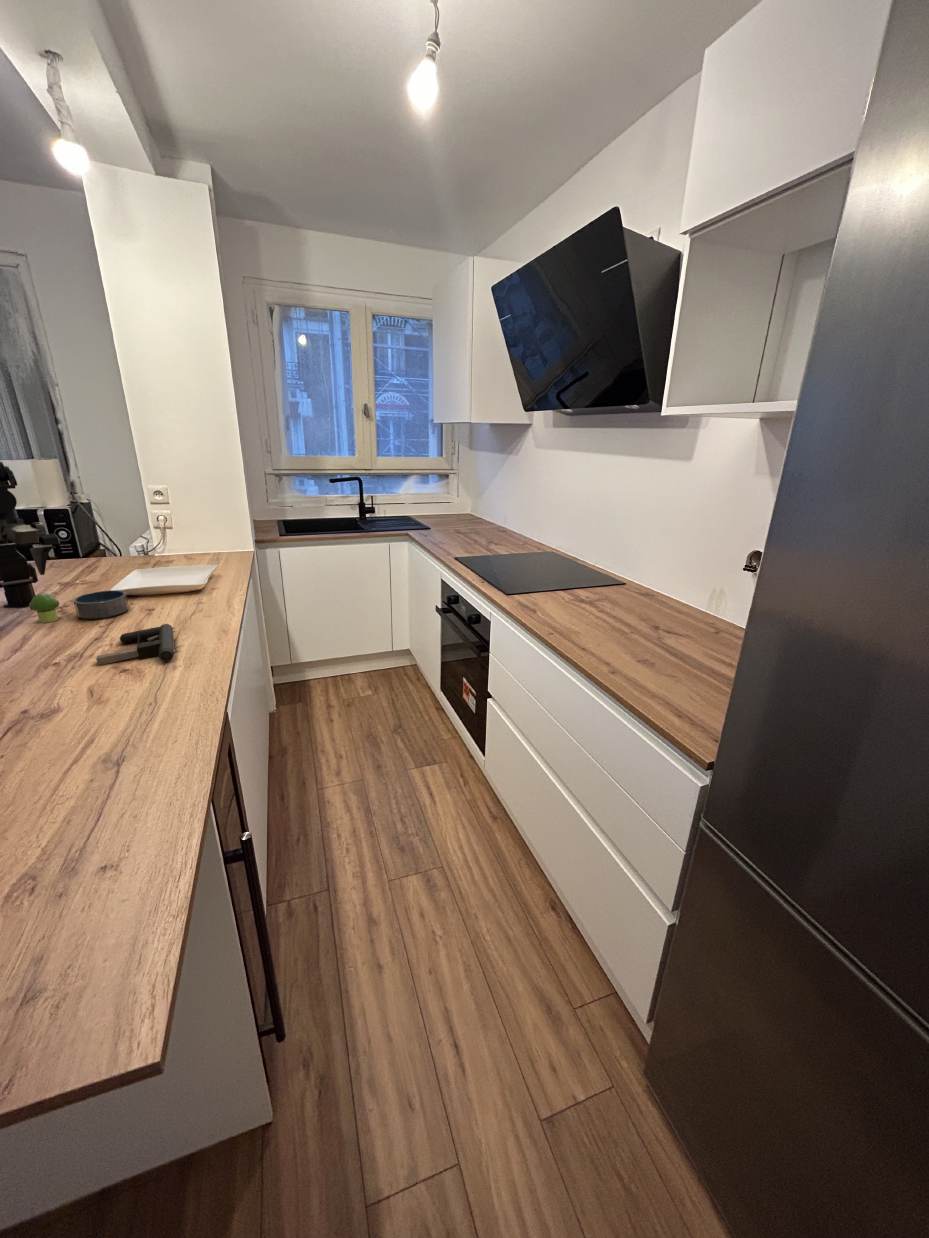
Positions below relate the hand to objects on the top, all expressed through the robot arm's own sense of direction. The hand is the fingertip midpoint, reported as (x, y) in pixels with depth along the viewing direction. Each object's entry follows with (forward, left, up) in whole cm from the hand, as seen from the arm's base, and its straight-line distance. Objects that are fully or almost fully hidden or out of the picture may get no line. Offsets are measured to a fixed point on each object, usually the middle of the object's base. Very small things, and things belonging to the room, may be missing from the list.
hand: (21, 578), depth 122 cm
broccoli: (-8, -3, -14) cm, 17 cm away
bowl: (-14, +8, -14) cm, 21 cm away
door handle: (+13, +34, -15) cm, 39 cm away
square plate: (-42, +12, -14) cm, 46 cm away
